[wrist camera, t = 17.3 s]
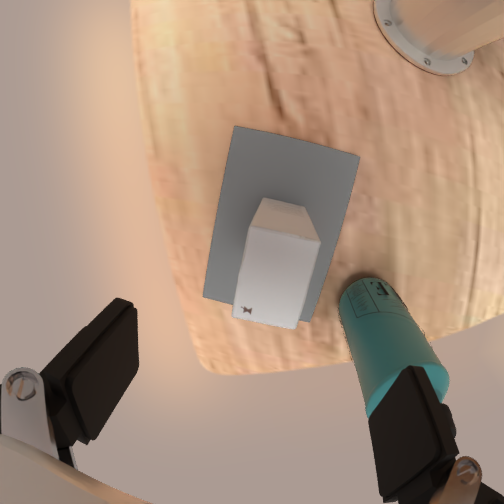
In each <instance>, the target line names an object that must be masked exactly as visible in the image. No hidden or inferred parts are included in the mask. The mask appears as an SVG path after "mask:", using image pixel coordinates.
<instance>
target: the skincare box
mask: <svg viewBox="0 0 504 504" xmlns="http://www.w3.org/2000/svg"><path fill="white" fill-rule="evenodd" d="M320 244H321V241H320V239H319V237H318V235H317V232H316V230H315V228H314V226H313V224H312V221H311V219H310V217H309V215H308V212H307V210H306V208H305V207H303V206H299V205H295V204H291V203H286V202H282V201H278V200H273V199H269V198H263V199H262V201H261V203H260V205H259V207H258V209H257V211H256V213H255V215H254V217H253V220H252V222H251V224H250V226H249V228H248V233H247V238H246V243H245V248H244V253H243V258H242V263H241V267H240V271H239V275H238V282H237V287H236V292H235V298H234V303H233V309H232V317H233V318H238V319H243V320H248V321H253V322H258V323H262V324H267V325H272V326H277V327H282V328H288V329H296V327H297V324H298V321H299V318H300V315H301V312H302V309H303V306H304V303H305V299H306V296H307V292H308V288H309V284H310V281H311V277H312V274H313V270H314V266H315V263H316V259H317V255H318V252H319V248H320Z"/></svg>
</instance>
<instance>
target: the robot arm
mask: <svg viewBox="0 0 504 504" xmlns="http://www.w3.org/2000/svg"><path fill="white" fill-rule="evenodd" d="M373 8H374V15H375V18H376V21H377V24H378V26H379V28H380V29H381V31H382V33H383V35H384V36H385V37H386V39H387V40H388V42H389V43H390V44H391V45H392V46H393V47H394V48H395V49H396V50H397V52H399V53H400V54H401V55H402V56H403V57H404V58H406V59H407V60H408V61H410V62H411V63H413V64H414V65H416V66H417V67H419V68H421V69H423V70H425V71H427V72H430V73H433V74H437V75H443V76H449V75H455V74H458V73H460V72H462V71H464V70H466V69H467V68H468V67H469V66H470V64H471V62H472V60H473V57H474V50H476V49H478V48H480V47H482V46H485V45H487V44H489V43H492V42H494V41H496V40H499V39H501V38H504V0H374V6H373ZM137 322H138V321H137V309H136V308H134V306H133V303H131V302H129V301H126V300H124V299H120V298H115V299H114V300H113V301H112V302H111V303H110V304H109V305H108V306H107V307H106V308H105V309H104V310H103V311H102V312H101V313H100V314H99V315H98V316H96V318H94V320H93V321H91V322H90V323H89V325H88V326H85V327H84V328H83V329H82V330H81V331H80V332H79V333H78V334H77V335H76V336H75V337H74V338H73V339H72V340H71V341H70V342H69V343H68V344H67V345H66V346H65V347H64V348H63V349H62V350H61V351H60V352H59V353H58V354H57V355H56V356H55V357H54V358H53V360H52V361H51V362H50V363H49V364H48V365H47V366H46V367H45V368H44V369H43V370H42V371H41V372H40V373H37V372H36V371H35V370H33V369H30V368H24V367H21V368H16V369H14V370H11V371H10V372H9V373H8V374H7V375H6V376H5V377H4V379H3V382H2V384H0V504H152V503H150V502H147V501H144V500H141V499H139V498H136V497H134V496H131V495H129V494H126V493H124V492H122V491H119V490H117V489H115V488H112V487H110V486H108V485H106V484H104V483H102V482H100V481H98V480H96V479H93V478H91V477H90V476H88V475H86V474H83V473H82V472H80V471H78V468H77V465H76V461H75V457H74V453H73V449H72V446H73V445H74V443H75V442H76V440H78V441H80V442H82V443H84V444H86V445H88V443H89V441H90V440H95V439H96V438H97V437H98V435H99V433H100V432H101V430H102V428H103V427H104V425H105V423H106V422H107V420H108V418H109V417H110V415H111V413H112V412H113V410H114V409H115V407H116V405H117V404H118V402H119V400H120V399H121V397H122V396H123V394H124V392H125V391H126V389H127V388H128V386H129V384H130V383H131V381H132V379H133V378H134V376H135V375H136V373H137V371H138V367H139V354H138V326H137V325H138V323H137ZM368 423H369V429H370V435H371V440H372V446H373V452H374V459H375V465H376V472H377V478H378V487H379V493H380V495H381V496H382V497H383V503H388V502H396V501H397V500H398V503H399V504H504V497H503V496H502V495H501V494H499V493H498V492H496V491H495V490H493V489H491V488H490V487H488V486H487V485H485V484H484V483H482V482H481V480H482V470H481V467H480V465H479V464H478V462H477V461H476V460H474V459H473V458H471V457H469V456H463V457H460V458H459V459H457V460H456V459H455V456H457V455H458V454H459V450H458V448H457V445H456V442H455V439H454V437H453V434H452V431H451V429H450V426H449V424H448V421H447V419H446V416H445V414H444V411H443V409H442V406H441V404H440V402H439V399H438V397H437V395H436V393H435V390H434V388H433V386H432V384H431V381H430V379H429V377H428V375H427V373H426V371H425V369H424V367H422V366H413V365H409V366H407V367H406V368H405V369H403V370H402V371H401V372H400V374H399V375H398V377H397V378H396V380H395V381H394V383H393V384H392V386H391V387H390V388H389V390H388V391H387V393H386V394H385V396H384V397H383V398H382V400H381V401H380V402H379V404H378V405H377V407H376V408H375V409H374V410H373V412H372V413H371V415H370V417H369V421H368Z"/></svg>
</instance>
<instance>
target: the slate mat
mask: <svg viewBox="0 0 504 504" xmlns="http://www.w3.org/2000/svg"><path fill="white" fill-rule="evenodd" d="M359 160H360V157H359V156H356V155H353V154H350V153H346V152H343V151H340V150H336V149H333V148H329V147H326V146H322V145H318V144H315V143H311V142H307V141H303V140H299V139H295V138H291V137H287V136H282V135H278V134H273V133H269V132H264V131H259V130H254V129H249V128H244V127H238V126H234V130H233V135H232V140H231V144H230V149H229V154H228V158H227V163H226V168H225V173H224V178H223V183H222V188H221V193H220V199H219V204H218V209H217V215H216V220H215V226H214V231H213V237H212V243H211V248H210V254H209V260H208V266H207V272H206V278H205V285H204V291H203V297H204V298H208V299H212V300H216V301H220V302H224V303H228V304H232V305H233V303H234V298H235V292H236V287H237V282H238V275H239V271H240V267H241V263H242V258H243V253H244V248H245V243H246V238H247V233H248V228H249V226H250V224H251V222H252V220H253V217H254V215H255V213H256V211H257V209H258V207H259V205H260V203H261V201H262V199H263V198H269V199H273V200H278V201H282V202H286V203H291V204H295V205H299V206H303V207H305V208H306V210H307V212H308V215H309V217H310V219H311V221H312V224H313V226H314V228H315V230H316V232H317V235H318V237H319V239H320V241H321V244H320V248H319V252H318V255H317V259H316V263H315V266H314V270H313V274H312V277H311V281H310V284H309V288H308V292H307V296H306V299H305V303H304V306H303V309H302V312H301V315H300V318H299V320H300V321H305V322H310V320H311V318H312V315H313V312H314V310H315V307H316V304H317V301H318V298H319V295H320V293H321V290H322V287H323V284H324V281H325V278H326V275H327V272H328V269H329V266H330V263H331V260H332V257H333V253H334V250H335V247H336V244H337V240H338V237H339V234H340V231H341V227H342V224H343V220H344V217H345V213H346V210H347V206H348V203H349V199H350V195H351V192H352V188H353V184H354V180H355V176H356V172H357V168H358V164H359Z"/></svg>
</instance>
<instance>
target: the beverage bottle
mask: <svg viewBox="0 0 504 504" xmlns="http://www.w3.org/2000/svg"><path fill="white" fill-rule="evenodd" d="M389 285H390V284H389ZM389 285H388V283H387V282H384V281H383V280H380V279H379V278H363V279H360V280H358V281H356V282H354V283H352V284H351V285H350V286H349V287H348V288H347V289H346V290H345V291H344V293H343V295H342V297H341V299H340V304H339V314H338V316H339V315H340V318H341V321H342V325H343V327H342V326H341V327H342V328H344V331H345V334H346V337H345V339H346V338H347V339H346V341H348V344H349V348H350V351H351V354H352V358H353V360H354V363H355V367H356V371H357V374H358V378H359V382H360V386H361V389H362V393H363V397H364V402H365V406H366V407H365V409H366V414H367V417H368V419H369V417H370V415H371V413H372V412H373V410H374V409H375V408H376V407H377V405H378V404H379V402H380V401H381V400H382V398H383V397H384V396H385V394H386V393H387V391H388V390H389V388H390V387H391V386H392V384H393V383H394V381H395V380H396V378H397V377H398V375H399V374H400V372H401V371H402V370H403V369H405V368H406V367H407V366H409V365H413V366H422V367H424V369H425V371H426V373H427V375H428V377H429V379H430V381H431V384H432V386H433V388H434V390H435V393H436V395H437V397H438V399H439V402H440V404H441V406H442V409H443V411H444V414H445V416H446V419H447V421H448V424H449V426H450V429H451V431H452V434H453V437H454V438H455V436H456V427H455V424H454V422H453V419H452V414H451V411H450V409H449V407H448V406H447V405H445V404H442V401H443V399H444V397H445V395H446V393H447V390H448V387H449V375H448V372H447V370H446V369H445V368H444V366H443V365H442V364H441V362H440V361H439V359H438V357H437V356H436V354H435V353H434V351H433V349H432V348H431V346H430V345H429V343H428V342H427V340H426V338H425V332H424V335H423V333H422V332H421V330H420V328H419V327H420V326H419V325H418V326H419V327H418V326H417V324H416V323H415V321H414V320H413V318H412V317H411V315H410V314H409V312H408V309H406V308H407V307H406V305H405V304H404V305H403V304H402V302H403V301H402V300H401V298H399V295H397V293H396V292H395V290H394V289H393V288H392V287H391V286H389ZM394 292H395V293H394ZM403 303H404V302H403ZM404 306H405V307H406V308H405V307H404ZM341 321H340V322H341ZM343 334H344V333H343ZM346 343H347V342H346ZM348 344H347V345H348ZM348 351H349V350H348ZM350 351H349V352H350ZM352 358H351V360H352Z"/></svg>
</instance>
